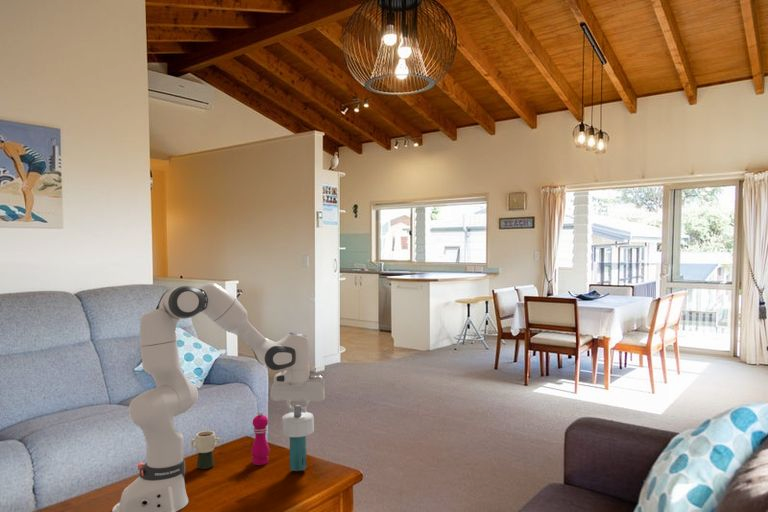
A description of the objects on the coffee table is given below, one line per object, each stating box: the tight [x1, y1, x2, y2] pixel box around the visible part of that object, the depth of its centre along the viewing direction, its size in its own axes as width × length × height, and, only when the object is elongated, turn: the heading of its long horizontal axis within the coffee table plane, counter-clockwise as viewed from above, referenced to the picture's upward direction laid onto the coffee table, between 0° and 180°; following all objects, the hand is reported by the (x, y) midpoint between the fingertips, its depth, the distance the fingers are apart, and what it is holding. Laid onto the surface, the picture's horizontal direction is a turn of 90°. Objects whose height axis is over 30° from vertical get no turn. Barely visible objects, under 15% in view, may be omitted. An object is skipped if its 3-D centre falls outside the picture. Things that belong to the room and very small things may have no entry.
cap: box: [281, 404, 315, 438], centre depth 196 cm, size 12×12×10 cm
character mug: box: [190, 430, 221, 470], centre depth 200 cm, size 11×7×13 cm, turn 100°
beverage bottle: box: [288, 436, 308, 472], centre depth 196 cm, size 6×7×20 cm
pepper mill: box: [250, 410, 271, 466], centre depth 205 cm, size 7×7×20 cm
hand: (297, 412), depth 196 cm, fingers open, 3 cm apart
